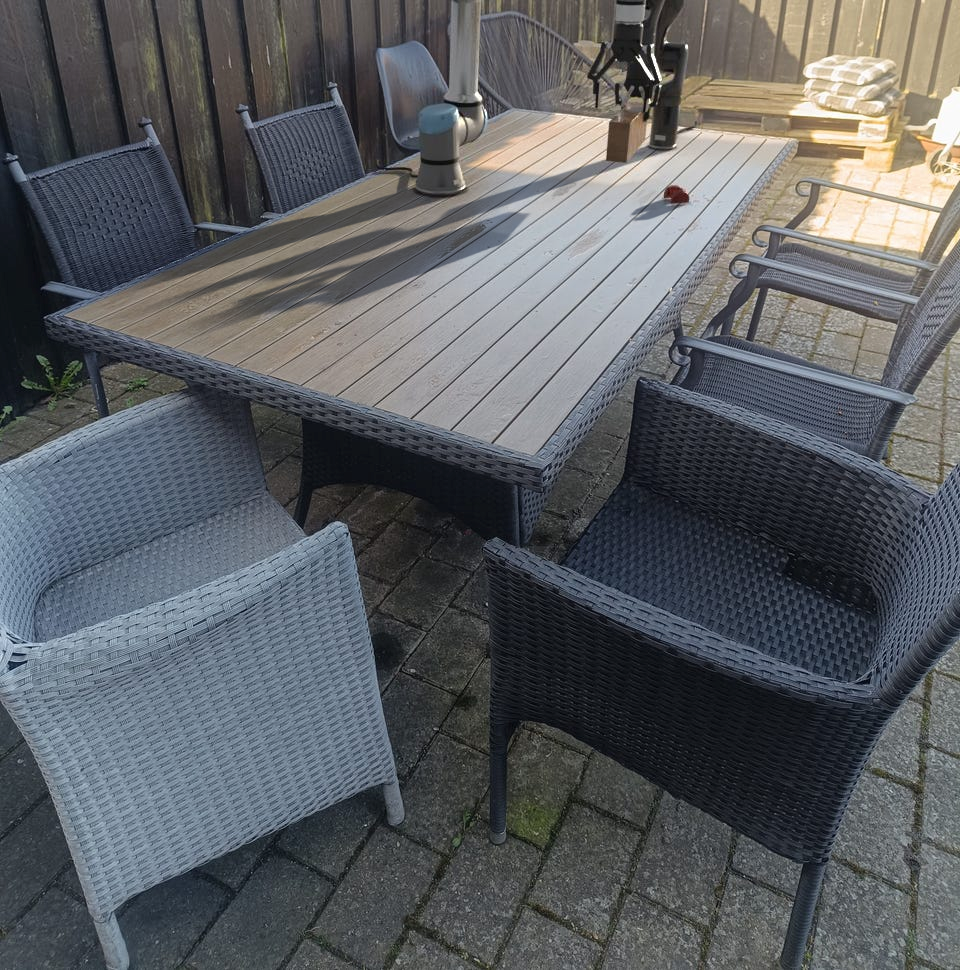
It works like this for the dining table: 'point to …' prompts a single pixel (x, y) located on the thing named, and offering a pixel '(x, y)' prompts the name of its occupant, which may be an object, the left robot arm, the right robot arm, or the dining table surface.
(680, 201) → the dental model
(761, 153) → the dining table surface
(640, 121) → the box
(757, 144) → the dining table surface
